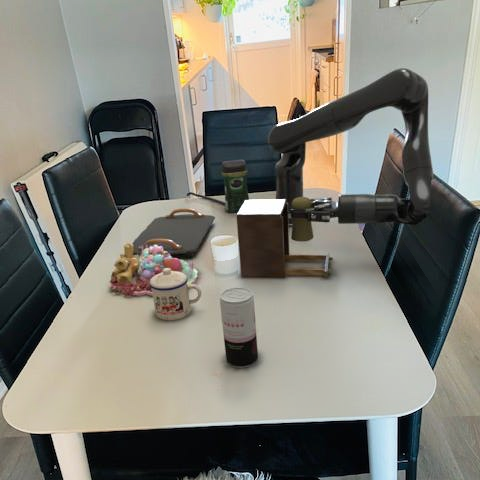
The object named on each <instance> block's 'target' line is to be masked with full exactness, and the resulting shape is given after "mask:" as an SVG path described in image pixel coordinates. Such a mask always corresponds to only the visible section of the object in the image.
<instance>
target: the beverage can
mask: <svg viewBox="0 0 480 480" xmlns="http://www.w3.org/2000/svg"><path fill="white" fill-rule="evenodd" d="M219 306H220V307H219V308H220V317H221V324H222V333H223V344H224V351H225V360H226V362H227V363H228V365H230V366H232V367H234V368H240V369H241V368H242V369H243V368H248V367H250V366H252V365H254V364H255V363H256V362H257V361H258V359H259V352H258V351H259V350H258V338H257V337H258V336H257V324H256V311H255V310H256V309H255V297H254V294H253V291H252V290H251V289H249V288H246V287H232V288H227V289H225V290H224V291H222V292H221V293H220V295H219Z"/></svg>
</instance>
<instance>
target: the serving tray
mask: <svg viewBox="0 0 480 480" xmlns="http://www.w3.org/2000/svg"><path fill="white" fill-rule="evenodd" d="M179 213H184V214H179ZM185 213H187V214H185ZM188 213H189V214H188ZM215 219H216V216H214V215H210V214H209V215H208V214H203V213H200V212H198V211H197V210H195V209H194V208H190V207H189V208H188V207H182V208H181V207H180V208H176V209H173V210H172V211H171V213H169V214H167V215H165V216H159V217H155V218H154V219H153V220H152V221H151V222H150V223H149V224H148V225H146V228H145V229H144V230H143V231H141V232H140V234H139V235H138V236H137V237H136V238H135V239H134V241H133V242H131V244H133V249H134V251H133V255H137V254H138V256H140V254H142V245H143V250H144V249H146V244H147V248H149V247H150V245H151V246H153V245H157V246H158V247H159V246H162V247H163V250H164V251H167V252H168V253H169V254H170V256H173V255H183V254H185V256H186V258H187V259H192V258H193V257H194V256H193V255H194V254H193V252H196V251H197V250H198V248H199V246H200V245H201V243H202V241H203V240H204V238H205V237H206V234H207V233H208V232H209V229H210V227H211V226H212V224H213V223H214V221H215Z"/></svg>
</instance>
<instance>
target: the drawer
mask: <svg viewBox="0 0 480 480" xmlns="http://www.w3.org/2000/svg"><path fill="white" fill-rule="evenodd" d="M333 260H334V259H333V256H330V252H327V253H325V254H290V255H284V263H285V264H286V262H325V264H324V268H285V276H324V278H328V275H329V274H332V269H329V265H330V261H333Z"/></svg>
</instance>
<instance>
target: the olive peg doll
mask: <svg viewBox="0 0 480 480" xmlns="http://www.w3.org/2000/svg"><path fill="white" fill-rule="evenodd" d="M310 199H311V198H310V197H306V196H303V197H298V198H295V199H294V200H293V202H292V208H293V209H308V208H311V205H312V203H311V200H310ZM291 227H292V228H291V236H290V238H291V240H292V241H295V242H302V243H303V242H309V241H311V240H313V239H314V231H313V224H312V221H307V219H305V218H293V226H291Z"/></svg>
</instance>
